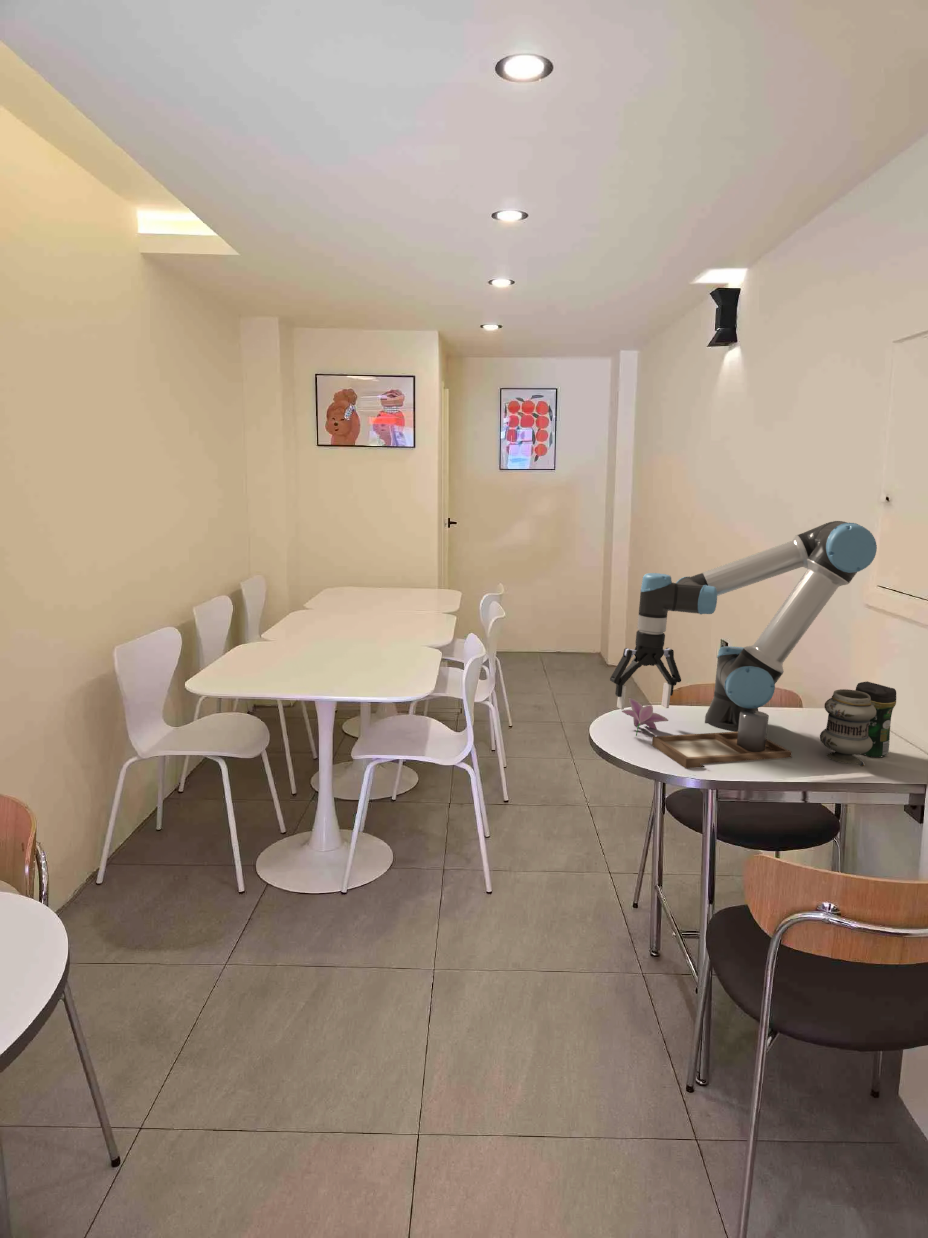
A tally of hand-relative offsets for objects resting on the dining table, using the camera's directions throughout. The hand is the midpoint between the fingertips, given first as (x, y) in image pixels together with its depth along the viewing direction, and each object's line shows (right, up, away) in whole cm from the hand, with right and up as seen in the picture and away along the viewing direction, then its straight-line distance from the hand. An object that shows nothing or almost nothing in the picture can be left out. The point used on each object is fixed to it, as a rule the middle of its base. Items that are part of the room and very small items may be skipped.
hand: (642, 707), depth 217 cm
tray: (+17, -10, -12) cm, 23 cm away
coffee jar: (+58, -11, -7) cm, 59 cm away
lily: (0, -7, +2) cm, 7 cm away
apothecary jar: (+47, -12, -15) cm, 51 cm away
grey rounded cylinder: (+26, -9, -10) cm, 29 cm away
